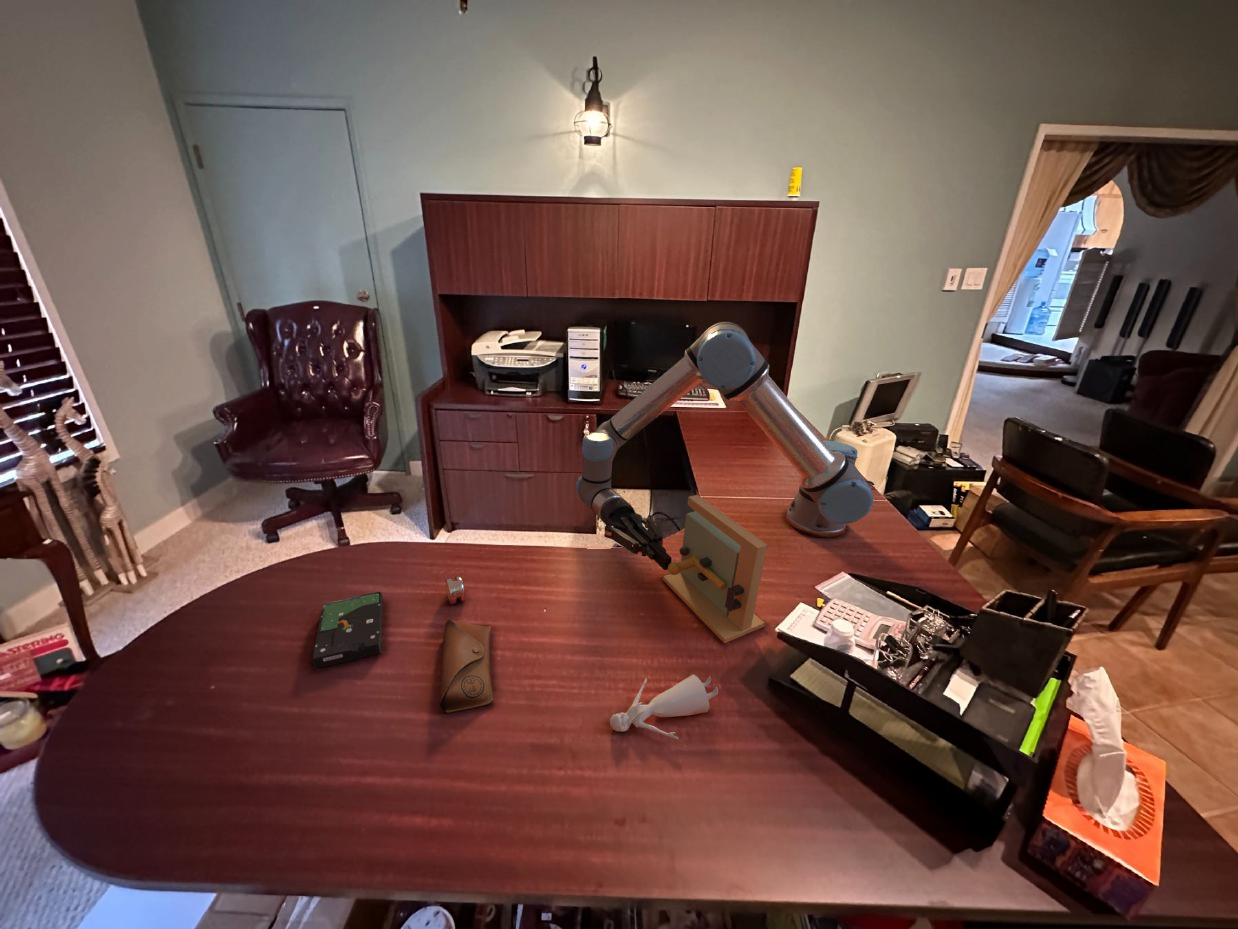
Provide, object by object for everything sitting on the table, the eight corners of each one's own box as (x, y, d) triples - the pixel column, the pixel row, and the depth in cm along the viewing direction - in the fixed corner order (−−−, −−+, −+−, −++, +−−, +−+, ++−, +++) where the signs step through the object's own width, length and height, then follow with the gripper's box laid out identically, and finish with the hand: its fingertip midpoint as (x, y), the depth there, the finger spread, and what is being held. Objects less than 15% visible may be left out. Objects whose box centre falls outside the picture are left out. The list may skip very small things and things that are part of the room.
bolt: (694, 562, 104) (695, 552, 103) (725, 591, 96) (727, 580, 95) (664, 571, 101) (665, 561, 99) (695, 602, 92) (696, 591, 91)
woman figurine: (734, 706, 74) (624, 749, 69) (732, 726, 76) (624, 769, 71) (696, 650, 84) (597, 684, 79) (695, 669, 86) (598, 703, 81)
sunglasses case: (497, 701, 78) (471, 679, 75) (459, 725, 78) (432, 704, 75) (491, 623, 94) (470, 601, 91) (460, 642, 94) (438, 622, 90)
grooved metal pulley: (446, 594, 101) (444, 574, 99) (461, 590, 103) (459, 570, 101) (452, 609, 97) (449, 589, 95) (467, 604, 99) (465, 584, 97)
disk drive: (383, 654, 87) (383, 600, 99) (380, 642, 85) (381, 589, 98) (315, 671, 83) (324, 613, 95) (311, 659, 82) (321, 601, 94)
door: (698, 568, 113) (709, 491, 105) (763, 626, 97) (782, 540, 89) (662, 579, 109) (670, 500, 101) (724, 643, 92) (739, 554, 84)
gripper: (636, 518, 124) (692, 570, 105) (589, 530, 118) (639, 587, 99) (638, 492, 121) (696, 541, 102) (589, 502, 115) (642, 556, 96)
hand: (668, 564), depth 101 cm, fingers closed
